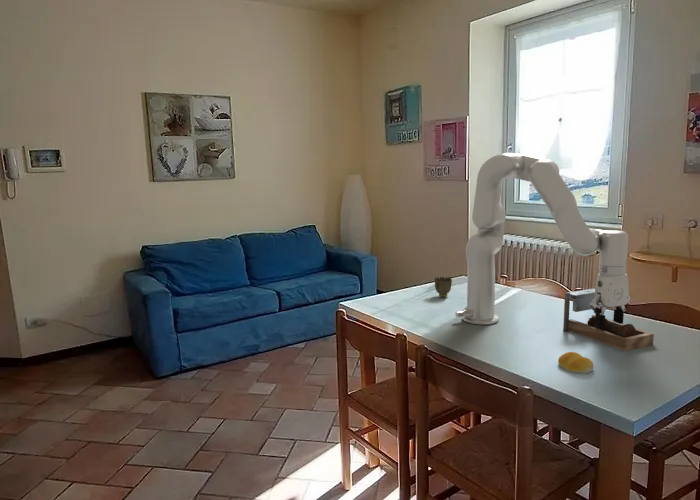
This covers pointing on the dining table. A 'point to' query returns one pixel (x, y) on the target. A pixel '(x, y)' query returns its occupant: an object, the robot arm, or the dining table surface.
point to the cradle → (603, 336)
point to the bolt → (615, 328)
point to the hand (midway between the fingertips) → (609, 324)
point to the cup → (443, 286)
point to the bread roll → (575, 363)
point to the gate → (582, 299)
